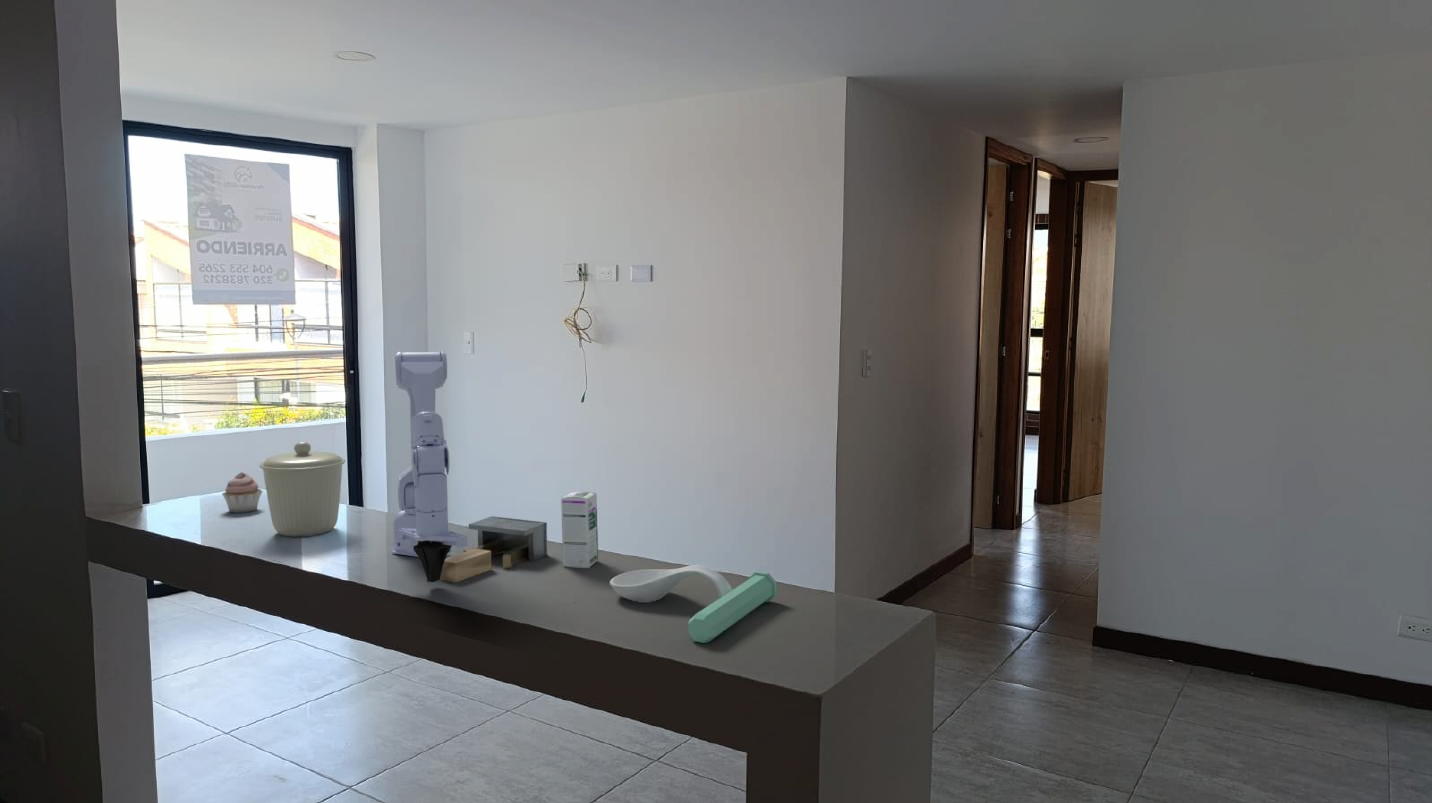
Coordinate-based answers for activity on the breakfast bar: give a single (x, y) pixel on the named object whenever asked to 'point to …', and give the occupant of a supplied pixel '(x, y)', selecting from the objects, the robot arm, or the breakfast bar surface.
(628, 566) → the breakfast bar surface
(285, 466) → the canister
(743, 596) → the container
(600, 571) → the breakfast bar surface
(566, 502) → the syrup box
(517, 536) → the awning
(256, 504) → the cupcake
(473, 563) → the oak bar
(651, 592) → the spoon rest
